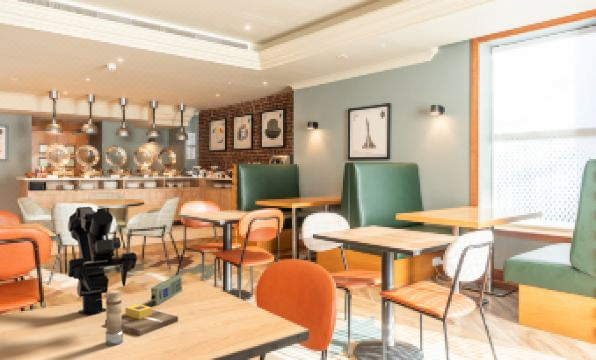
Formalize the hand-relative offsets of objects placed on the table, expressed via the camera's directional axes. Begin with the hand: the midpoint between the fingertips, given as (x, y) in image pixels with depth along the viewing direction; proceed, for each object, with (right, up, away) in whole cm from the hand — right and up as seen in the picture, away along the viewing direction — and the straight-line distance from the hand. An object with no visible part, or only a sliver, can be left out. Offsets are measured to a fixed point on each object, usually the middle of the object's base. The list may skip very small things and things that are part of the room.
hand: (107, 288), depth 125 cm
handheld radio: (+6, -13, +33) cm, 36 cm away
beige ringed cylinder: (+5, -14, -6) cm, 16 cm away
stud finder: (+5, -12, +12) cm, 17 cm away
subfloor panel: (+7, -13, +9) cm, 17 cm away
